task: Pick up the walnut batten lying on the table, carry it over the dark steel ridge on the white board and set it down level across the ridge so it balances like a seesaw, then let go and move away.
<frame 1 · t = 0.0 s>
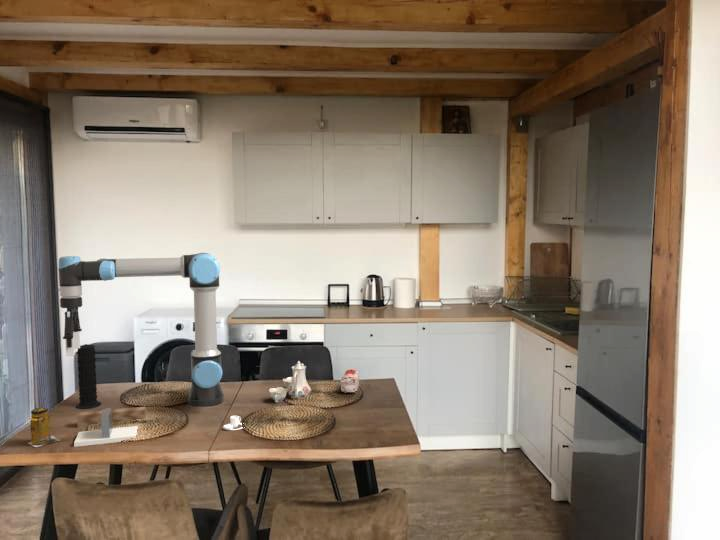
hand: (73, 352, 223), 28 cm above the table, tool pointing down, fingers open, 13 cm apart
steel ridge: (106, 423, 209), on the white board, point 6 cm above the table
food item: (350, 391, 267), on the table
white board: (107, 437, 209), on the table
handle grip: (88, 406, 247), on the table
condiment: (44, 442, 206), on the table
teacup and saucer: (227, 427, 221), on the table
walnut batten: (112, 423, 225), on the table
chinaware: (292, 397, 259), on the table
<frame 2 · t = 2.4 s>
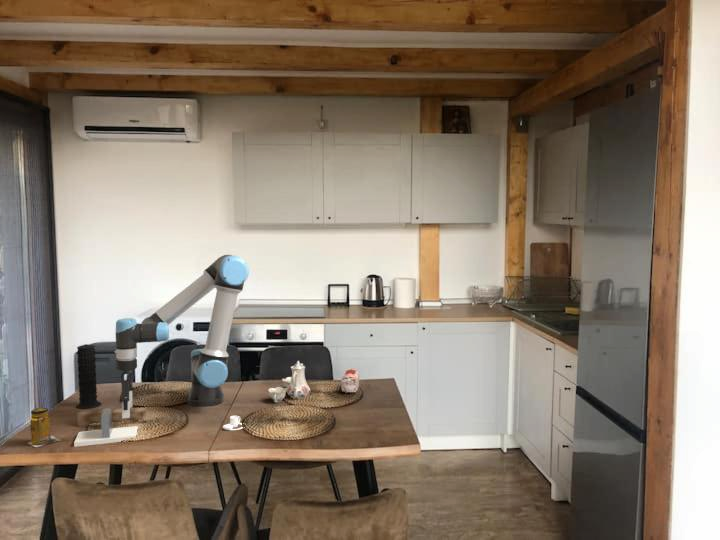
hand: (127, 412, 227), 3 cm above the table, tool pointing down, fingers open, 13 cm apart
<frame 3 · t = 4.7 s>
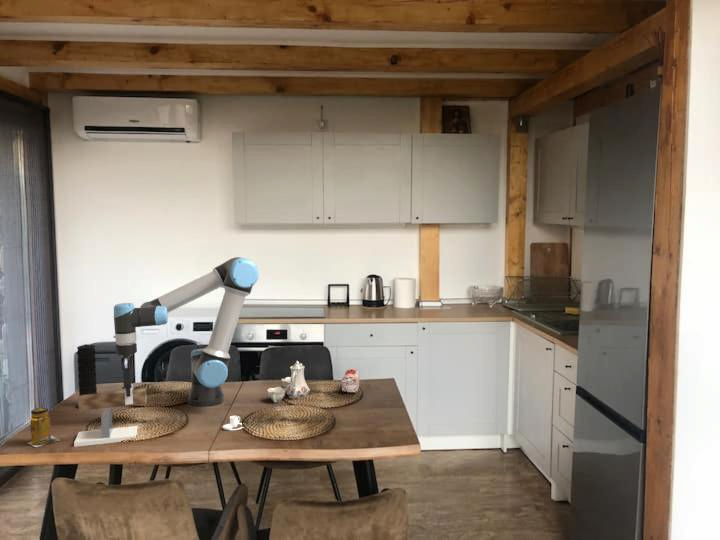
hand: (129, 402, 227), 7 cm above the table, tool pointing down, fingers closed on walnut batten, 4 cm apart
walnut batten: (113, 405, 225), point 7 cm above the table, touching gripper
everything else where it was.
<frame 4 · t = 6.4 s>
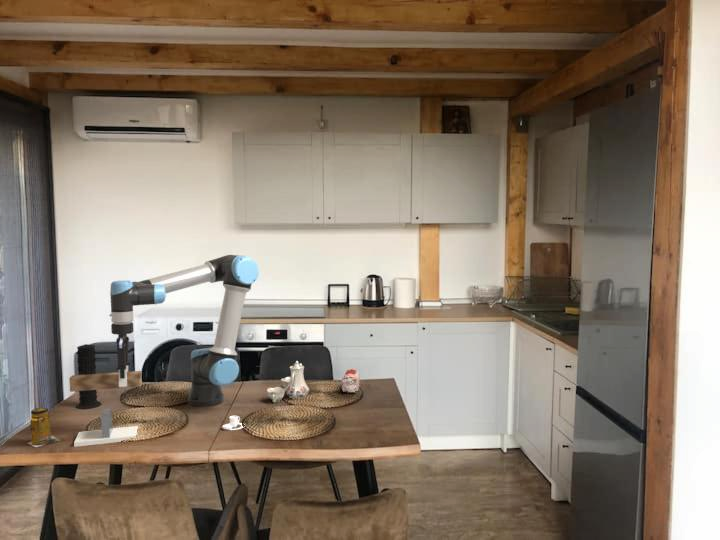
hand: (123, 384, 216), 17 cm above the table, tool pointing down, fingers closed on walnut batten, 4 cm apart
walnut batten: (106, 387, 215), point 16 cm above the table, touching gripper
everything else where it was.
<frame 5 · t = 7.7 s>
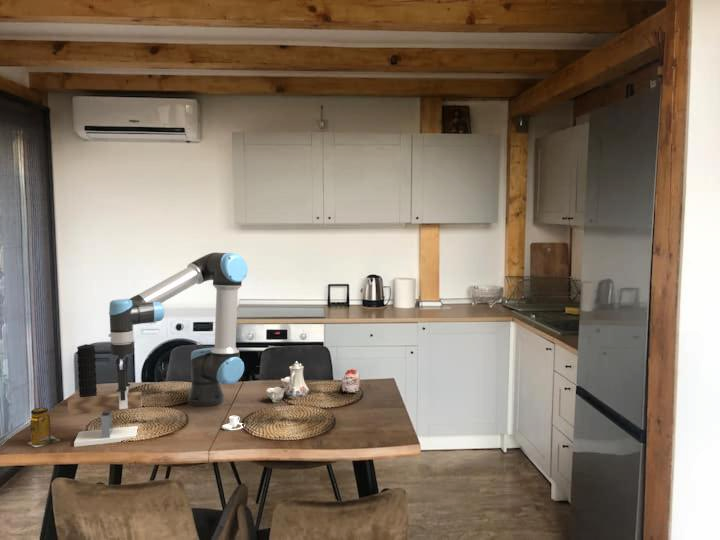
hand: (124, 406, 210), 11 cm above the table, tool pointing down, fingers closed on walnut batten, 4 cm apart
walnut batten: (106, 410, 208), point 10 cm above the table, touching gripper
when the fingers open (9 cm above the table, at t = 8.3 s): walnut batten stays where it is, resting on steel ridge.
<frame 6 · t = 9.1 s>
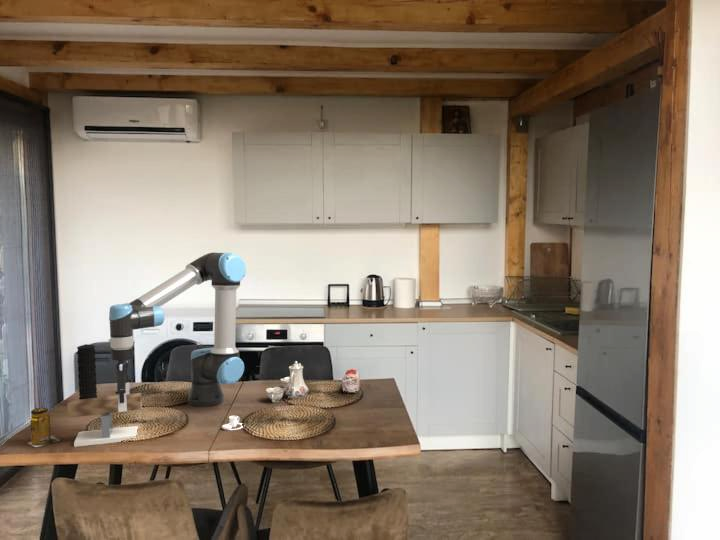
hand: (124, 405, 210), 11 cm above the table, tool pointing down, fingers open, 13 cm apart
walnut batten: (106, 411, 208), point 10 cm above the table, touching steel ridge
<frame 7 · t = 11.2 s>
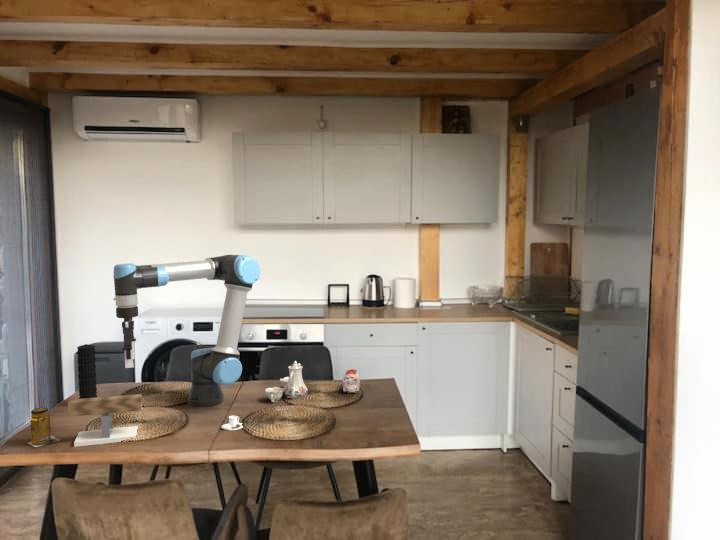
hand: (130, 363, 214), 26 cm above the table, tool pointing down, fingers open, 13 cm apart
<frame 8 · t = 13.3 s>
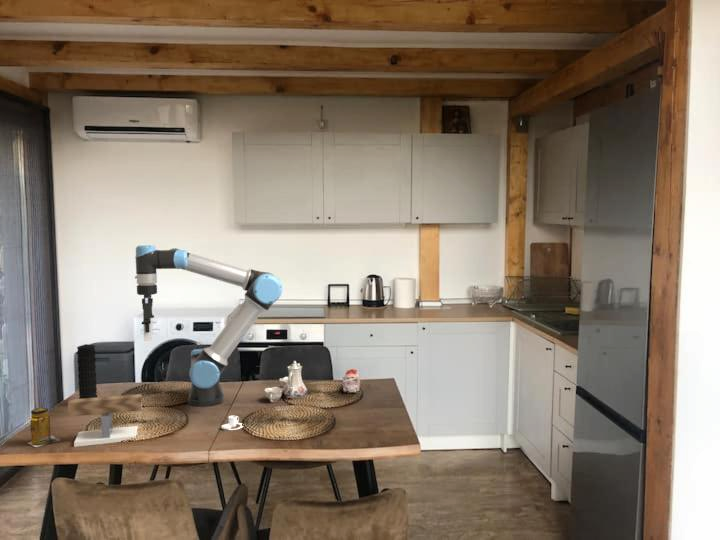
hand: (148, 337, 232), 32 cm above the table, tool pointing down, fingers open, 13 cm apart
at the end: walnut batten 0.2 cm off-centre on the steel ridge, point 9.5 cm above the steel ridge's base; walnut batten tilted 0° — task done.
